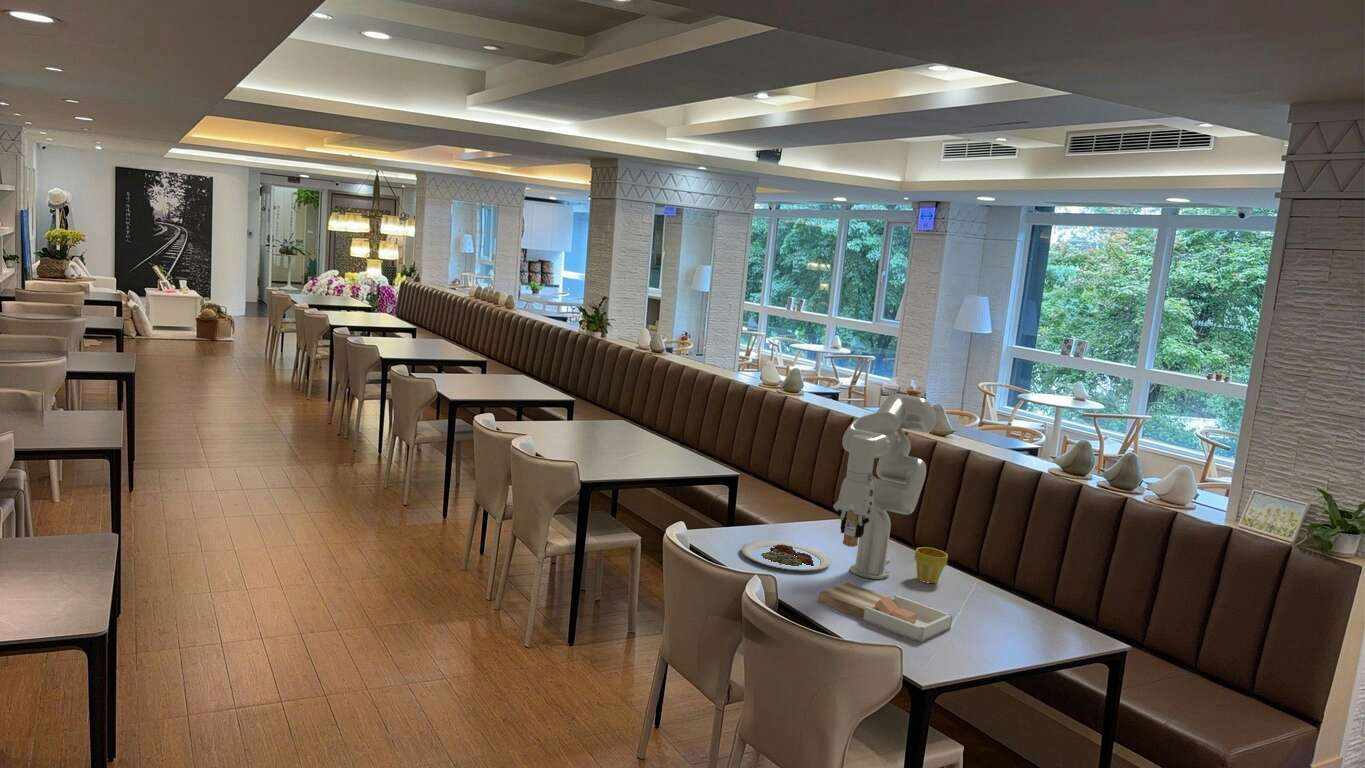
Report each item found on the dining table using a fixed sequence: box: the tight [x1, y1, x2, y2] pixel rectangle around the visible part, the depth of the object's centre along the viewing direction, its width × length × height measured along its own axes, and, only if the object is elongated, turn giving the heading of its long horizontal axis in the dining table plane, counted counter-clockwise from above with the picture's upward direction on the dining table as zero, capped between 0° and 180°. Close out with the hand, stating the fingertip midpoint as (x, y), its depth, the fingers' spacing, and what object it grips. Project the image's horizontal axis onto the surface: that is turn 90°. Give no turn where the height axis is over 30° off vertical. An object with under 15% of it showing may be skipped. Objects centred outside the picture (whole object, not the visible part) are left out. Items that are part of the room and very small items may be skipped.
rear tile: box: [875, 595, 900, 616], centre depth 272 cm, size 5×5×2 cm
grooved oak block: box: [817, 582, 895, 620], centre depth 279 cm, size 16×16×3 cm
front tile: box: [892, 608, 917, 624], centre depth 269 cm, size 5×5×2 cm
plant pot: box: [914, 546, 949, 584], centre depth 310 cm, size 10×10×10 cm
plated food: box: [740, 539, 832, 572], centre depth 316 cm, size 30×30×3 cm
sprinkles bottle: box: [842, 504, 859, 547], centre depth 285 cm, size 5×5×13 cm
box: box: [862, 595, 954, 644], centre depth 268 cm, size 18×18×4 cm
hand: (851, 534), depth 286 cm, fingers closed on sprinkles bottle, 4 cm apart
